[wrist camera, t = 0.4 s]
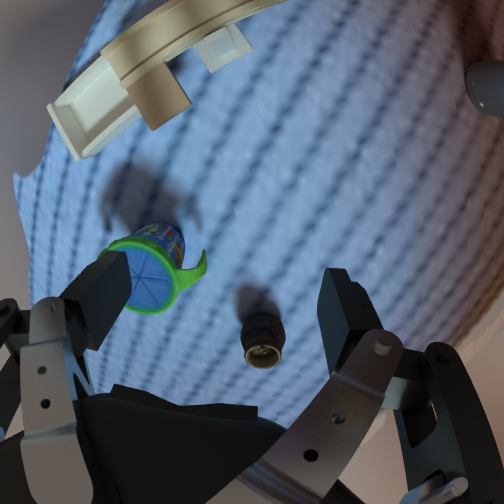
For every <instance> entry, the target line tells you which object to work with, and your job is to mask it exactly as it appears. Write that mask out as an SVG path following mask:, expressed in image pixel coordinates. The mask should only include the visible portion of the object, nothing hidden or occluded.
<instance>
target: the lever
mask: <svg viewBox="0 0 504 504" xmlns="http://www.w3.org/2000/svg"><path fill="white" fill-rule="evenodd" d="M285 1H288V0H170V1H168V2H166V3H165V4H163V5H162V6H160V7H158V8H157V9H155V10H154V11H152V12H151V13H149V14H148V15H146V16H145V17H143V18H142V19H141V20H139V21H138V22H136V23H135V24H134V25H132V26H131V27H130V28H128V29H127V30H126V31H124V32H123V33H122V34H120V35H119V36H118V37H117V38H115V39H114V40H113V41H112V42H111V43H109V44H108V45H107V46H106V47H105V48H103V49H102V50H101V51H100V53H101V55H102V56H103V57H106V58H107V60H108V62H109V63H110V65H111V67H112V68H113V70H114V72H115V73H116V75H117V77H118V78H119V80H120V82H119V85H120V86H121V88H122V89H126V91H127V92H128V94H129V96H130V97H131V99H132V100H133V102H134V104H135V105H136V107H137V108H138V110H139V112H140V113H141V115H142V116H143V118H144V120H145V121H146V123H147V124H148V126H149V128H150V129H151V131H154V130H156V129H158V128H159V127H160V126H162V125H163V124H165V123H166V122H167V121H169V120H170V119H172V118H173V117H175V116H176V115H178V114H179V113H181V112H182V111H184V110H185V109H187V108H188V107H190V106H191V105H193V104H192V102H191V101H190V99H189V98H188V96H187V95H186V93H185V91H184V90H183V88H182V87H181V85H180V84H179V82H178V81H177V79H176V78H175V76H174V74H173V73H172V71H171V70H170V68H169V67H168V65H167V64H166V63H167V62H168V61H170V60H171V59H173V58H174V57H176V56H177V55H179V54H180V53H182V52H183V51H185V50H187V49H188V48H190V47H192V46H193V45H195V44H197V43H198V42H200V41H202V40H204V38H205V37H206V36H208V35H210V34H212V33H214V32H215V31H217V30H219V29H221V28H223V27H228V26H230V25H232V24H234V23H236V22H238V21H240V20H242V19H244V18H246V17H249V16H251V15H253V14H255V13H258V12H260V11H262V10H265V9H267V8H270V7H272V6H275V5H277V4H280V3H283V2H285Z"/></svg>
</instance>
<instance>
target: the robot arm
mask: <svg viewBox="0 0 504 504" xmlns="http://www.w3.org/2000/svg"><path fill="white" fill-rule="evenodd" d="M466 85H467V90H468V93H469V96H470V98H471V100H472V102H473V104H474V105H475V107H476V108H477V109H478V110H479V111H480V112H481V113H483V114H485V115H489V116H496V117H501V118H504V60H498V61H482V62H474V63H472V64H471V65H470V66H469V67H468V69H467V72H466ZM131 293H132V281H131V275H130V270H129V264H128V258H127V254H126V252H124V251H116V250H107V251H106V252H105V253H104V254H103V255H102V256H101V257H100V258H99V259H98V260H97V261H95V262H93V263H91V264H90V265H88V266H87V267H86V268H85V269H84V270H83V271H82V272H81V274H79V275H78V276H77V277H76V278H75V280H73V281H72V282H71V284H70V285H69V286H68V287H67V288H66V289H65V290H64V291H63V292H62V293H61V295H60V296H59V297H53V296H52V297H46V298H44V299H41V300H40V301H38V302H37V303H36V304H35V305H34V306H33V307H32V309H31V310H20V309H19V307H18V304H17V302H16V300H14V299H11V298H7V299H4V300H1V301H0V348H1V347H2V345H3V344H5V345H6V347H7V349H8V351H9V352H10V354H11V356H10V357H9V359H8V360H7V362H6V363H5V365H4V367H3V368H2V370H1V371H0V504H365V503H364V502H363V501H362V500H361V499H360V498H358V497H357V496H356V495H355V494H354V493H353V492H352V491H351V490H350V489H348V488H347V487H346V486H345V485H344V484H343V483H342V482H341V481H340V480H339V479H338V477H339V476H340V474H341V473H342V472H343V470H344V469H345V467H346V466H347V464H348V463H349V461H350V459H351V458H352V456H353V455H354V453H355V452H356V450H357V448H358V447H359V445H360V443H361V442H362V440H363V438H364V437H365V435H366V433H367V431H368V430H369V428H370V426H371V424H372V423H373V421H374V419H375V417H376V415H377V413H378V411H379V409H380V407H383V408H389V409H393V412H394V416H395V420H396V425H397V429H398V434H399V439H400V444H401V449H402V455H403V460H404V466H405V472H406V479H407V486H408V493H407V494H405V495H404V497H403V498H402V499H401V501H400V504H504V468H503V464H502V461H501V457H500V454H499V451H498V448H497V444H496V442H495V438H494V435H493V433H492V430H491V427H490V424H489V422H488V419H487V417H486V414H485V411H484V409H483V406H482V404H481V402H480V399H479V397H478V394H477V392H476V390H475V388H474V386H473V384H472V381H471V379H470V377H469V375H468V373H467V371H466V368H465V366H464V364H463V362H462V360H461V358H460V356H459V355H458V353H457V352H456V350H455V349H454V348H452V347H451V346H450V345H448V344H446V343H443V342H433V343H431V344H429V345H428V346H427V348H426V350H425V351H424V352H419V351H415V350H410V349H406V348H403V344H402V342H401V340H400V339H399V338H398V337H397V336H396V335H395V334H393V333H391V332H389V331H387V330H384V328H383V326H382V324H381V322H380V319H379V317H378V315H377V313H376V311H375V309H374V307H373V304H372V302H371V300H369V296H368V294H367V292H366V290H365V289H364V288H363V287H362V286H361V285H360V284H359V283H358V282H351V280H350V278H349V275H348V273H347V271H346V269H342V268H326V269H325V272H324V276H323V280H322V285H321V289H320V293H319V298H318V303H317V316H318V321H319V325H320V330H321V335H322V340H323V344H324V349H325V354H326V359H327V365H328V370H329V375H330V379H329V380H328V381H327V383H326V384H325V385H324V386H323V388H322V389H321V390H320V392H319V393H318V394H317V395H316V397H315V398H314V399H313V400H312V402H311V403H310V404H309V405H308V406H307V408H306V409H305V410H304V411H303V412H302V414H301V415H300V416H299V417H298V418H297V419H296V421H295V422H294V423H293V424H292V425H291V426H290V427H289V428H288V430H287V429H286V428H284V427H283V426H281V425H279V424H277V423H275V422H273V421H270V420H268V419H265V418H262V417H258V406H247V405H234V404H224V403H215V404H204V405H189V406H180V405H176V404H173V403H171V402H169V401H166V400H164V399H162V398H160V397H157V396H155V395H153V394H151V393H149V392H147V391H143V390H139V389H134V388H130V387H126V386H122V385H118V384H114V385H113V388H112V390H111V392H110V393H100V394H95V391H94V388H93V384H92V380H91V376H90V372H89V368H88V364H87V360H86V356H85V354H84V351H85V350H86V348H87V349H91V350H95V351H98V349H99V348H100V346H101V344H102V343H103V341H104V339H105V337H106V336H107V334H108V332H109V331H110V329H111V327H112V326H113V324H114V322H115V321H116V319H117V318H118V316H119V314H120V313H121V311H122V309H123V308H124V306H125V305H126V303H127V302H128V300H129V298H130V296H131ZM20 402H21V404H22V415H23V424H24V430H23V431H21V432H19V433H17V434H15V435H14V436H12V437H10V438H8V439H6V440H5V435H6V432H7V430H8V428H9V426H10V423H11V421H12V419H13V417H14V415H15V413H16V411H17V409H18V407H19V404H20ZM432 403H433V406H434V409H435V412H436V415H437V421H436V417H435V414H434V411H433V408H432V405H431V404H432Z"/></svg>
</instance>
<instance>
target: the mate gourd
mask: <svg viewBox="0 0 504 504" xmlns="http://www.w3.org/2000/svg"><path fill="white" fill-rule="evenodd" d="M240 339H241V343H242V346H243V348H244V351H245V353H244V358H245V359H246V361H245V362H247V363H248V364H249V365H251V366H252V367H255V368H259V369H268V368H272V367H274V366H276V365H277V364H278V363H279V362H280V360H281V357H282V356H281V355H282V348H283V346H284V344H285V340H286V335H285V330H284V326H283V324H282V322H281V321H280V319H279V318H277V317H275V316H273V315H271V314H266V313H259V314H255V315H253V316H251V317H249V318H248V319H247V320H246V321H245V323H244V325H243V327H242V330H241V337H240Z"/></svg>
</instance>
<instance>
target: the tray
mask: <svg viewBox="0 0 504 504" xmlns="http://www.w3.org/2000/svg"><path fill="white" fill-rule="evenodd" d="M119 82H120V80H119V78H118V77H117V75H116V73H115V72H114V70H113V68H112V67H111V65H110V63H109V62H108V60H107V58H106V57H103V56H100V57H99V58H98V59H97V60H96V61H95V62H94V63H93V64H92V65H90V66H89V67H88V68H87V69H86V70H85V71H84V72H83V73H82V74H81V75H80V76H79V77H78V78H77V79H76V80H75V81H74V82H73V83H72V84H71V85H70V86H69V87H68V88H67V89H66V90H65V92H64V93H63V94H62V95H61V96H60V97H59V98H58V99H57V100H56V102H55V103H50V104H49V105H48V106H47V109H48V111H49V113H50V115H51V117H52V119H53V121H54V123H55V125H56V127H57V129H58V130H59V132H60V134H61V136H62V138H63V140H64V141H65V143H66V145H67V147H68V148H69V150H70V152H71V154H72V155H73V157H74V159H75V160H76V162H77V161H80V160H83V159H86V158H89V157H92V156H95V155H96V154H97V153H98V152H99V151H100V150H102V149H103V148H104V147H105V146H106V145H107V144H108V143H109V142H111V141H112V140H113V139H114V138H115V137H116V136H118V135H119V134H120V133H121V132H122V131H124V130H125V129H126V128H127V127H128V126H130V125H131V124H132V123H133V122H135V121H136V120H137V119H138V118H140V117H141V116H142V115H141V113H140V112H139V110H138V108H137V107H136V105H135V104H134V102H133V100H132V99H131V97H130V96H129V94H128V92H127V91H126V89H122V88H121V86H120V85H119Z"/></svg>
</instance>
